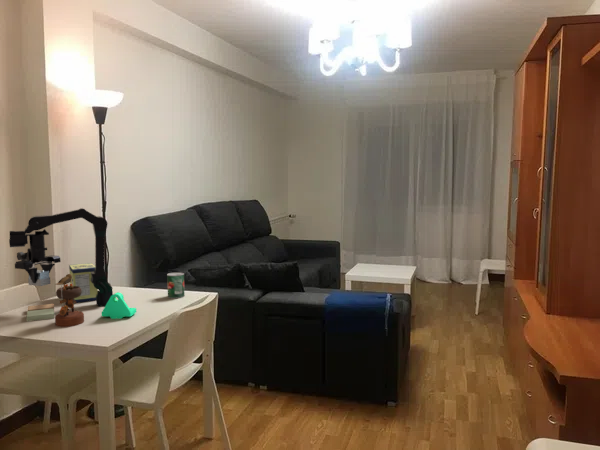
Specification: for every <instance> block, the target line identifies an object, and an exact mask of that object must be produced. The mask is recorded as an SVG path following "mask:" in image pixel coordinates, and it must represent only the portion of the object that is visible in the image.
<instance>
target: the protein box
mask: <svg viewBox="0 0 600 450" xmlns="http://www.w3.org/2000/svg"><path fill="white" fill-rule="evenodd" d="M68 269H69V270H68V271H69V274H71V275H72V279H71V282H69V285H70V284H72V285H73V286H79V287H80V288H81V290H82V293H81V295H80V296H79V297H77V298H74V300H75V301H76V303H75V304H77V303H78V304H79V303H87V302H94V301H95V302H96V294H97V291H99V289H96V288H95V287H94V285H93V283H92V282H91V277H92V276H91V272H94V270H95V264H93V263H92V262H87V263H78V264H68Z"/></svg>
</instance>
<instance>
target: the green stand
mask: <svg viewBox="0 0 600 450" xmlns="http://www.w3.org/2000/svg"><path fill="white" fill-rule="evenodd" d="M52 319H55V307H54V308H53V309H44V310H34V311H28V310H27V311H26V322H33V321H34V320H35V321H42V320H52Z"/></svg>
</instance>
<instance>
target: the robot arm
mask: <svg viewBox="0 0 600 450" xmlns="http://www.w3.org/2000/svg"><path fill="white" fill-rule="evenodd" d="M77 219H83V220H85V221H86V222H88V223H90V224H92V229H93V234H94V237H95V238H94V239H95V240H94V242H95V243H94V257H95V258H94V266H95V270H94V272H91V276H92V277H91V282H92V283H93V285H94V287H95V288H96V289H98V291H97V294H96V300H95V302H96V305H97V306H98V307H105V306H106V304H107V302H108V301H109V299H110V297H111V296H112V295H113V294H114V293H113V286H112V285H111V283H110V282H108V279H107V273H106V269H105V237H106V233H107V228H108V221H107V219H105V218H104V217H103V216H99V215H98V216H97V215H95V214H93V213H92V212H89V211H87V209H85V208H83V207H82V208H81V207H80V208H79V209H74V210H70V211H65V212H60V213H56V214H51V215H50V214H47V215H44V214H43V215H34V216H31V217H30V218H29V219H28V223H27V224H28V225H27V226H26V227H25V228H24V230H9V239H8V242H9V243H8V244H9V248H22V247H26V245H29V247H28V248H27V252H23V251H19V252H17V253H16V259H17V261H16V262H15V263H14V269H19V270H25V272H27V274H28V277H29V276H30V278H31V280H32V282H33V283H36V276H37V270H38V267H36V265H40V267H41V270H44V271H49V274H50V273H51V270H52V269H53V267H54V266H55V265H56V264H57V263H61V260H62V259H61V257H60V256H59V255H54V254H53V255H52V254H51V255H46V251H48V247H46V243H45V240H46V239H45V236H48V235H50V233H49V231H48V230H46V228H47V227H50V226H51V225H54V224H58V223H59V224H60V223H65V222H68V221H73V220H77ZM32 232H34V233H32ZM28 238H29V240H28Z"/></svg>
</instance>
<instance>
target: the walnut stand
mask: <svg viewBox="0 0 600 450" xmlns="http://www.w3.org/2000/svg"><path fill="white" fill-rule="evenodd" d="M53 308H54V309H55V304H54V303H47V304H37V305H28V306H27V311H34V310H44V309H53Z"/></svg>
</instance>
